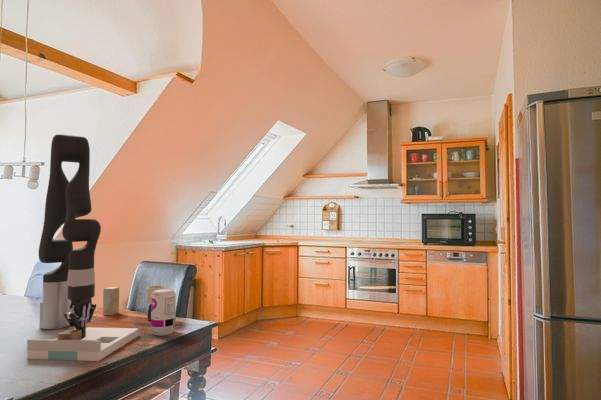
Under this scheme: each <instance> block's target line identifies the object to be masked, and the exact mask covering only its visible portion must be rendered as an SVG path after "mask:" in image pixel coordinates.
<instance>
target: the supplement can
mask: <svg viewBox="0 0 601 400" xmlns="http://www.w3.org/2000/svg"><path fill="white" fill-rule="evenodd" d="M176 296H177V295H176V292H175V290H174V289H173V288H165V289H158V290H154V291H153V293H152V295H151V319H150V333H151V334H152V335H153V336H158V337H159V336H163V337H164V336H168V335H171V334H173V333H174V332H175V331H176V308H177V307H176V306H177V305H176Z"/></svg>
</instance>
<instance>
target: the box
mask: <svg viewBox="0 0 601 400" xmlns="http://www.w3.org/2000/svg"><path fill="white" fill-rule="evenodd" d="M102 290H103V295H102V296H103V297H102V298H103V300H102V301H103V302H102V315H104V316H113V315H116V314H119V312H120V287H119V286H110V287H106V288H103V289H102Z"/></svg>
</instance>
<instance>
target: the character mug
mask: <svg viewBox="0 0 601 400" xmlns="http://www.w3.org/2000/svg"><path fill="white" fill-rule="evenodd" d="M158 289H166V286H165V285H150V286H147V287H146V291H145V292H146V295H145V296H146V299H145V300H146V301H145V302H146V304H148V308H147V309H148V310H147V320H151V295H152V293H153V291H154V290H158Z"/></svg>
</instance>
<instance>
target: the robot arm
mask: <svg viewBox="0 0 601 400" xmlns="http://www.w3.org/2000/svg"><path fill="white" fill-rule="evenodd" d="M90 155H91V153H90V143H89V140H88V139H87V138H86V137H84V136H80V135H70V134H63V133H57V134H55V135H54V136H53V137H52V139H51V145H50V162H49V163H50V165H49V178H48V185H47V191H46V196H45V205H44V217H43V218H44V220H43V227H42V231H41V232H42V233H41V236H40V241H39V247H38V259H39V261H40V263H42V264H57V263H60V265H59V266H58V267H56V268H55V269H53V270H51V271H48V272H46V273H44V274H43V276H42V301H41V302H39V325H38V326H39V329H42V330H58V329H63V328H67V327H72V328H75V329H76V330H82V339H83V338H85V337H86V327H87V325H88V323H90V322H91V320H92V318H93V316H94V313H95V310H96V308H97V304H96V303H93V301H92V300H93V298H94V297H95V295H96V294H95V293H96V291H95V290H96V288H95V287H96V273H95V253H96V247H97V244H98V242H99V238H100V235H101V231H102V228H101V224H100V222H99V221H98V220H97V219H96V218H95V219H94V218H88V219H87V218H82V217H85V216H87V215H90V213H91V211H92V201H91V200H92V199H91V194H90V193H91V192H90V168H91V167H90V162H91V159H90V158H91V156H90ZM63 162H64V163H65V162H66V163H76V164H77V163H78V169H77V171H76V172H75V174H74V175H73V177H72V178H71V179H70V181H69V179H68V178H67V176H66V174H65V171H64V170H63V166H62V164H63ZM77 218H78V219H77ZM81 218H82V219H81ZM61 227H62V230H61V231H62V232H61V234H62V237H60V238H56V237H55V235H56V233H57V232H58V231H59V229H60V228H61ZM54 237H55V238H54ZM74 242H75V243H78V242H79V243H80V242H82V243H83V242H86V244H84V246H83V247H80V248H76V249H74V244H73V243H74Z"/></svg>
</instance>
